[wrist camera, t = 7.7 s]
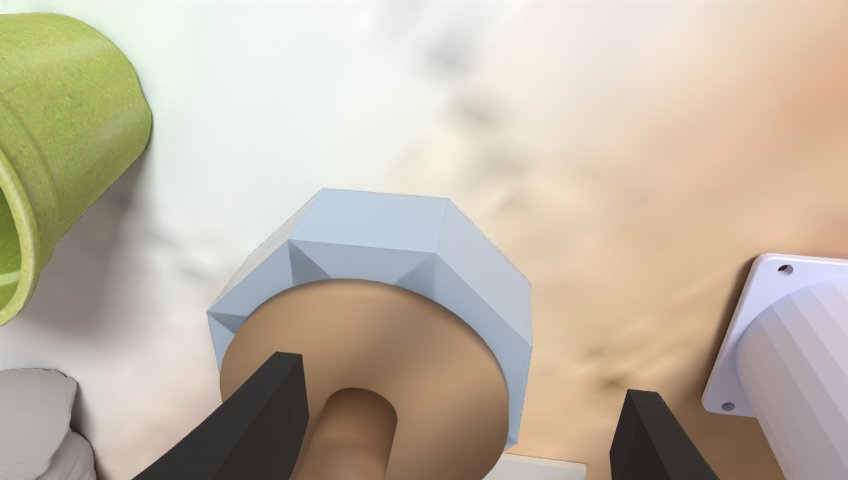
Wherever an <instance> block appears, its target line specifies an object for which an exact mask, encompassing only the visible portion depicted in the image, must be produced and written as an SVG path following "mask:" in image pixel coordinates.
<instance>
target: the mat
mask: <svg viewBox="0 0 848 480" xmlns="http://www.w3.org/2000/svg"><path fill="white" fill-rule="evenodd" d="M586 472H587V468H586V464H582V463H574V462H566V461H559V460H551V459H543V458H536V457H528V456H520V455H512V454H505V453H502V455H501V457H500V459H499V460H498V462H497V463H496V465H495V466H494V468H493V469H492V470H491V471H490V472H489V473H488V474H487V475H486V476H485V477H484V478H483V479H482V480H585V476H586Z"/></svg>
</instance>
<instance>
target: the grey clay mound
mask: <svg viewBox="0 0 848 480" xmlns="http://www.w3.org/2000/svg"><path fill="white" fill-rule="evenodd" d="M76 390H77V382H76V381H75V380H74V379H73V378H72V377H65V376H64V375H63V374H62V373H59V372H58V371H56V370H44V369H40V368H36V369H27V368H23V369H11V370H6V371H0V480H96V471H95V470H94V458H93V451H92V449H91V445H90V443H89V442H88V441H87V440H85V439H84V438H83V437H82V436H81V435H79V434H78V433H75V432H72V430H71V428H70V427H69V425H70V420H71V410H72V407H73V403H74V399H75V394H76Z"/></svg>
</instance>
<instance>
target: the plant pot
mask: <svg viewBox="0 0 848 480" xmlns="http://www.w3.org/2000/svg"><path fill="white" fill-rule="evenodd" d="M151 125H152V120H151V110H150V107H149V106H148V104H147V103H146V101H145V98H144V96H143V93H142V91H141V88H140V85H139V82H138V79H137V75H136V71H135V69H134V67H133V65H132V64H131V62H130V61H129V60H128V59H127V57H126V56H125V55H124V54H123V53H122V52H121V51H120V49H119V48H118V47H117V46H116V45H115V44H113V43H112V42H111V41H110V40H109V39H108V38H107V37H105V36H104V35H103V34H101V33H100V32H99V31H97V30H96V29H94V28H93V27H91V26H89V25H87V24H86V23H84V22H82V21H79V20H77V19H75V18H72V17H68V16H65V15H61V14H53V13H19V14H0V326H2V325H4V324H6V323H7V322H9V321H10V320H11V319H12V318H14V317H15V316H16V315H17V314H18V313H19V312H20V311H21V310H22V309H23V308H24V307H25V306H26V304H27V303H28V302H29V300H30V299H31V297H32V295H33V293H34V290H35V288H36V285H37V282H38V278H39V274H40V271H41V269H42V268H43V267H44V266H45V265H46V263H47V262H48V260H49V259H50V257H51V255H52V253H53V251H54V247H55V244H56V243H57V242H58V241H59V240H60V238H61V237H62V236H63V235H64V234H65V233H66V232H67V231H68V230H69V229H70V228H71V227H72V226H73V225H74V223H75V222H76V221H77V220H78V219H79V218H80V217H81V216H82V215H83V214H84V213H85V212H86V211H87V210H88V208H89V207H90V206H91V205H92V204H93V203H94V202H95V201H96V200H97V199H98V198H99V197H100V196H101V195H102V194H103V193H104V192H105V191H106V190H107V189H108V188H109V187H110V186H111V185H112V184H113V183H114V182H115V181H116V180H117V179H118V178H119V177H120V176H121V175H122V174H123V173H124V172H125V171H126V170H127V169H128V168H129V166H130V165H131V164H132V163H133V162H134V161H135V160H136V159H137V158H138V157H139V156H140V155H141V154H142V153H143V151H144V149H145V147H146V145H147V143H148V140H149V137H150V132H151Z"/></svg>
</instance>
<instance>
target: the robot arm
mask: <svg viewBox="0 0 848 480" xmlns="http://www.w3.org/2000/svg"><path fill="white" fill-rule="evenodd" d="M783 265H789V266H788V267H787V268H786V269H784V270H782V271H777V270H778V269H779V268H780V267H781V266H783ZM701 402H702V404H703V407H704V409H705V410H707V411H708V412H712V413H720V414H728V415H737V416H745V417H754V418H757V420H758V422H759V424H760V426H761V428H762V430H763V432H764V434H765V436H766V438H767V441H768V443H769V445H770V447H771V449H772V451H773V453H774V455H775V457H776V459H777V462H778V464H779V466H780V468H781V470H782V472H783V474H784V476H785V478H786V480H848V260H847V259H835V258H824V257H813V256H801V255H790V254H778V253H765V254H763V255H760V256H759V257H758V258H756V259H755V261H754V262H753V265H752V267H751V270H750V272H749V275H748V278H747V280H746V283H745V286H744V288H743V291H742V293H741V296H740V299H739V301H738V304H737V307H736V309H735V312H734V314H733V317H732V320H731V322H730V325H729V328H728V330H727V333H726V335H725V338H724V341H723V343H722V346H721V349H720V351H719V354H718V356H717V359H716V362H715V364H714V367H713V369H712V372H711V375H710V377H709V380H708V383H707V385H706V388H705V390H704V393H703V396H702V400H701ZM727 402H730V403H728V404H724V403H727ZM308 421H309V409H308V400H307V392H306V383H305V375H304V366H303V357H302V354H296V353H287V352H278V351H276V352H275V353H274V354H272V355H271V356H270V357H269V358H268V359H267V360H266V361H265V362H264V363H263V364H262V365H261V366H260V367H259V368H258V369H257V370H256V371H255V372H254V373H253V374H252V375H251V376H250V377H249V378H248V379H247V380H246V381H245V382H244V383H243V384H242V385H241V386H240V387H239V388H238V389H237V390H236V391H235V392H234V393H233V394H232V395H231V396H230V397H229V398H228V399H227V400H226V401H225V402H223V403H222V404H221V405H220V406H219V407H218V408H217V409H216V410H215V411H214V412H213V413H212V414H211V415H210V416H209V417H207V418H206V419H205V420H204V421H203V422H202V423H201V424H200V425H199V426H197V427H196V428H195V429H194V430H193V431H191V432H190V433H189V434H188V435H187V436H186V437H184V438H183V439H182V440H181V441H180V442H179V443H177V444H176V445H175V446H174V447H173V448H172V449H170V450H169V451H168V452H167V453H165V454H164V455H163V456H162V457H160V458H159V459H158V460H157V461H155V462H154V463H153V464H152V465H150V466H149V467H148V468H146V469H145V470H144V471H142V472H141V473H140V474H138V475H137V476H136V477H134V478H133V479H132V480H289V479H290V476H291V474H292V471H293V469H294V467H295V464H296V462H297V459H298V456H299V452H300V449H301V446H302V442H303V439H304V435H305V432H306V428H307V424H308ZM610 464H611V475H612V480H720V479H719V478H718V477H717V475H716V474H715V473H714V471H713V470H712V469H711V467H710V466H709V465H708V463H707V462H706V461H705V459H704V458H703V457H702V455H701V454H700V452H699V451H698V450H697V448H696V447H695V445H694V444H693V443H692V441H691V440H690V438H689V437H688V436H687V434H686V433H685V431H684V430H683V428H682V427H681V425H680V424H679V423H678V421H677V420H676V418H675V417H674V415H673V414H672V412H671V411H670V409H669V408H668V406H667V405H666V403H665V402H664V400H663V399H662V397H661V396H660V395H659V394H658V393H657V392H650V391H641V390H632V389H628V390H627V394H626V397H625V401H624V404H623V408H622V411H621V415H620V418H619V422H618V425H617V428H616V432H615V435H614V439H613V442H612V446H611V449H610Z"/></svg>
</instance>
